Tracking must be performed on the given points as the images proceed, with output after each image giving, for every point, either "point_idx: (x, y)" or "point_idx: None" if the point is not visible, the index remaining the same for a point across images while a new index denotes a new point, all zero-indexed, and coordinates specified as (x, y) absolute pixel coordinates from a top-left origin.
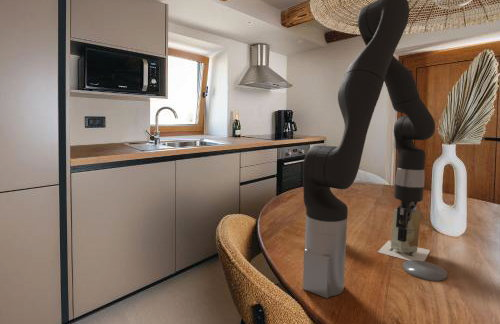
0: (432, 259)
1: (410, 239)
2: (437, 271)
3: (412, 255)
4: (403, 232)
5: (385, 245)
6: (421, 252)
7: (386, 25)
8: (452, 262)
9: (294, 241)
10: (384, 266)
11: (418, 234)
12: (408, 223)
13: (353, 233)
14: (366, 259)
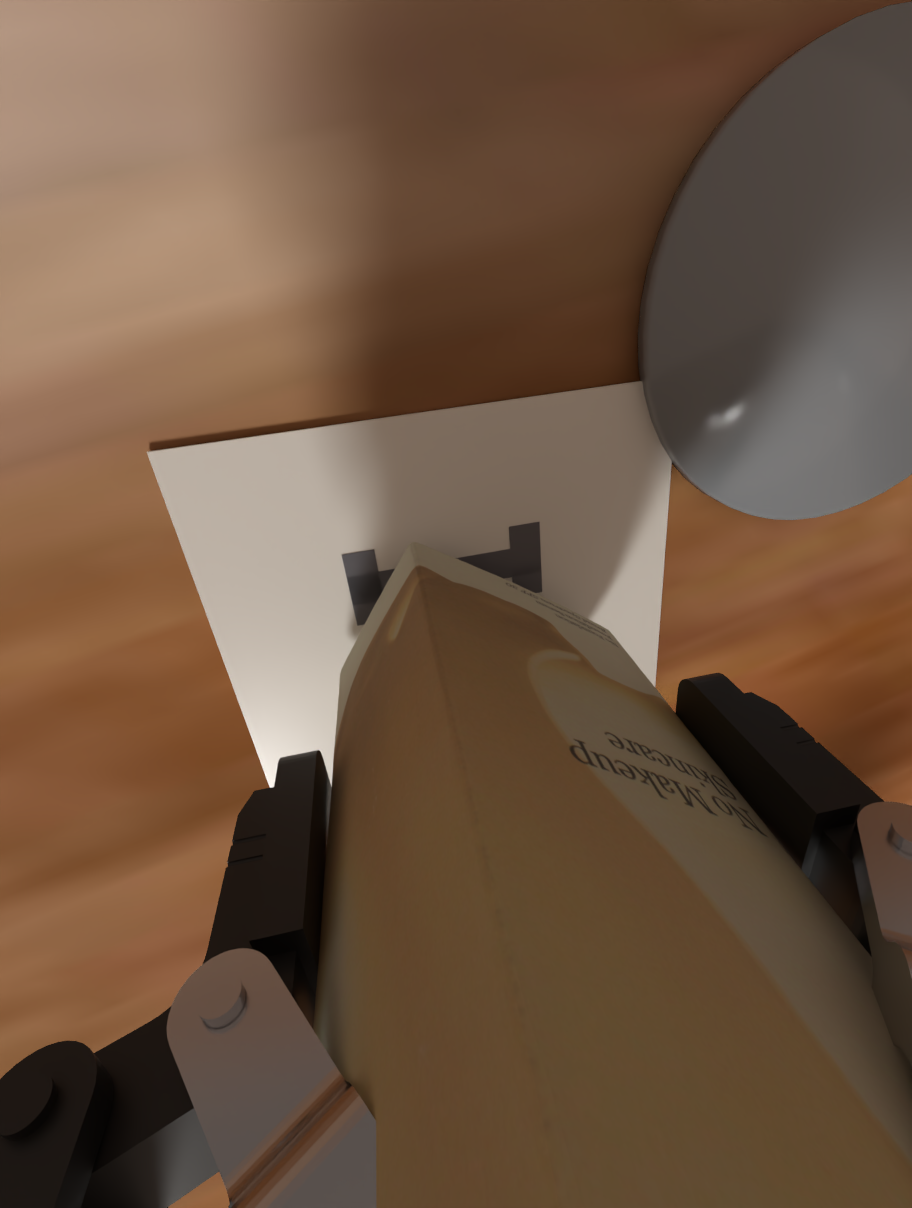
0: (441, 332)
1: (571, 668)
2: (865, 148)
3: (516, 539)
4: (850, 788)
5: None
6: (336, 504)
7: None
8: (322, 45)
9: None
10: (894, 602)
11: (446, 658)
12: (889, 928)
13: None
14: (829, 734)
